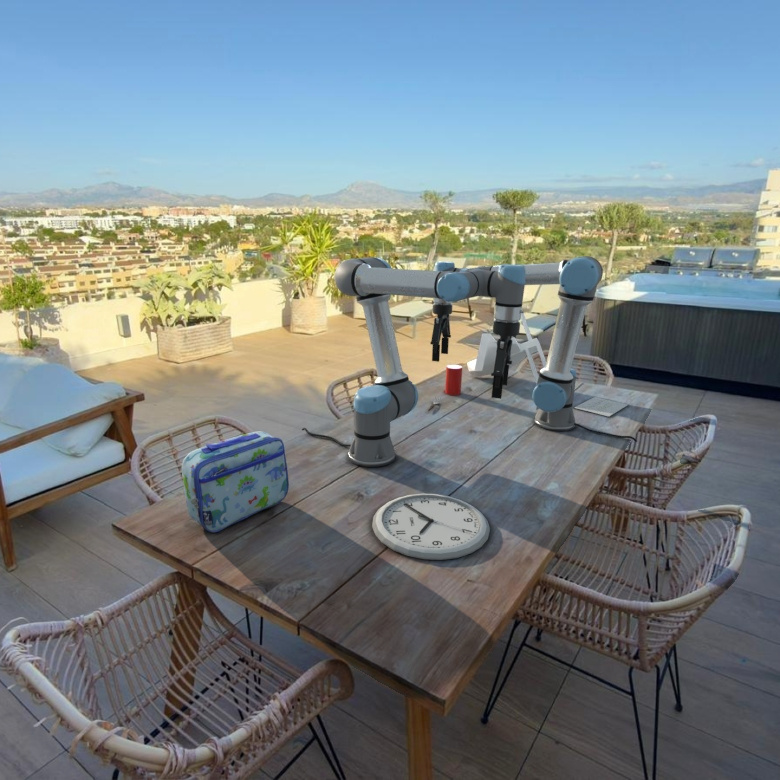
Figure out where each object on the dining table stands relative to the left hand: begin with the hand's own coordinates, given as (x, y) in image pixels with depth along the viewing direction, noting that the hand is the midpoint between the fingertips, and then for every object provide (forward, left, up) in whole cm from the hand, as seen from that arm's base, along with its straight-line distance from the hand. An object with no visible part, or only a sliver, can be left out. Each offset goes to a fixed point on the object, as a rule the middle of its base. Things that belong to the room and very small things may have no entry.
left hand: (499, 391), depth 156 cm
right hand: (-31, +44, -3) cm, 54 cm away
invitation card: (+32, +82, -27) cm, 92 cm away
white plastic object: (-12, +101, -27) cm, 105 cm away
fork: (-35, +53, -27) cm, 69 cm away
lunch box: (-57, -51, -27) cm, 81 cm away
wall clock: (-9, -37, -27) cm, 46 cm away
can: (-32, +75, -27) cm, 86 cm away
